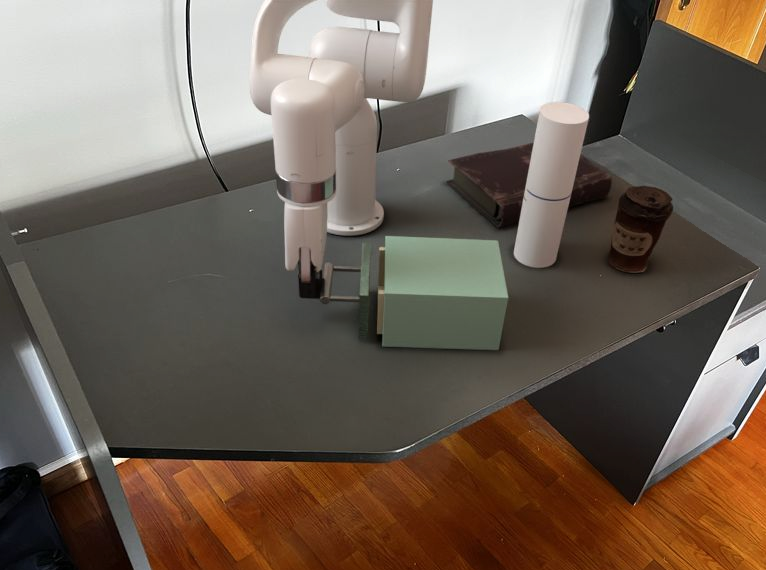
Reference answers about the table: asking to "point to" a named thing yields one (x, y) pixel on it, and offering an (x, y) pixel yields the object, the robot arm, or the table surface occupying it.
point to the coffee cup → (638, 227)
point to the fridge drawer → (364, 288)
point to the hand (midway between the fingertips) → (311, 294)
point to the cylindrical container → (550, 182)
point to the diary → (515, 182)
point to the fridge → (443, 293)
